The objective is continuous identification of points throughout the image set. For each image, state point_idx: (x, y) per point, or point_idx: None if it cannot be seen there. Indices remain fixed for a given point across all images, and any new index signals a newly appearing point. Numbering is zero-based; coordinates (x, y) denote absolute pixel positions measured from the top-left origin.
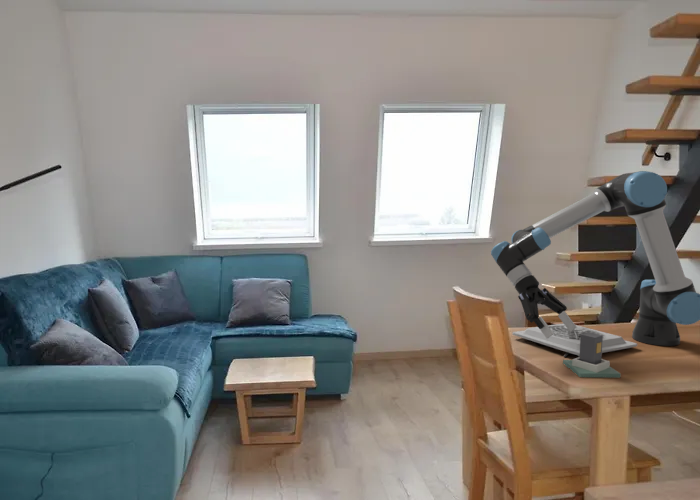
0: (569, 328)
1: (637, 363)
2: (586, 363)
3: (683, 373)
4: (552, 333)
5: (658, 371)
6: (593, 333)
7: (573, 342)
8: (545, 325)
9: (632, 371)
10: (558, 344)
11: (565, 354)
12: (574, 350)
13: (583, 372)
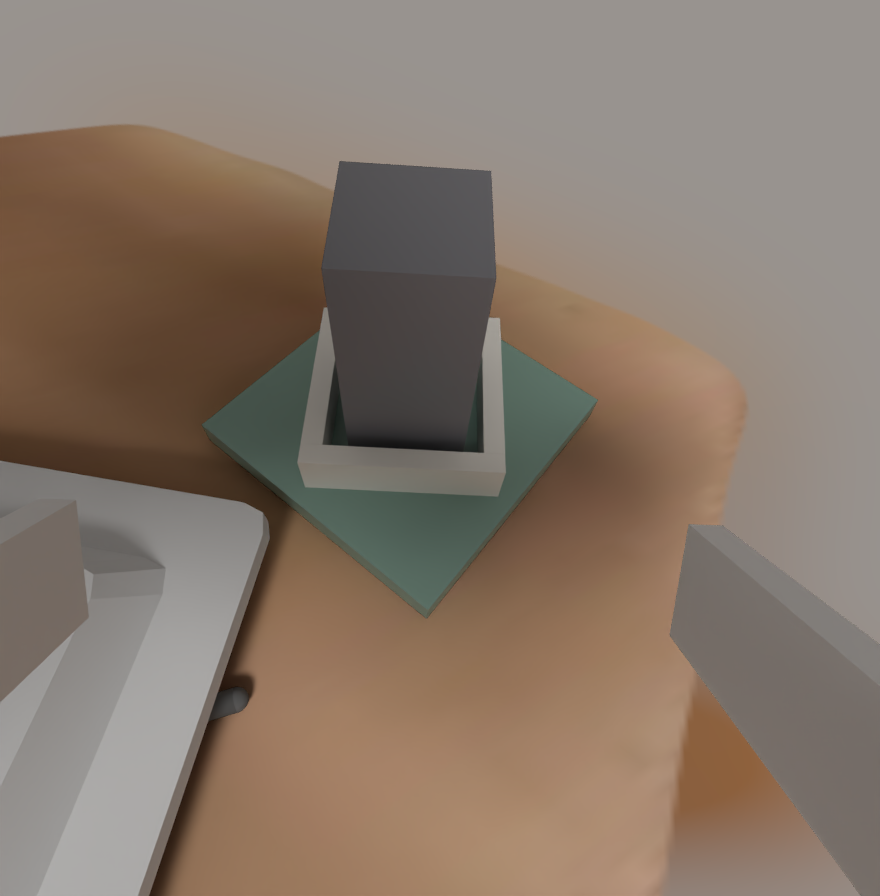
0: (57, 616)
1: (26, 311)
2: (501, 377)
3: (74, 154)
4: (716, 530)
5: (122, 217)
6: (339, 223)
7: (67, 649)
8: (828, 616)
9: (226, 285)
10: (46, 870)
11: (215, 702)
12: (193, 605)
13: (561, 393)
